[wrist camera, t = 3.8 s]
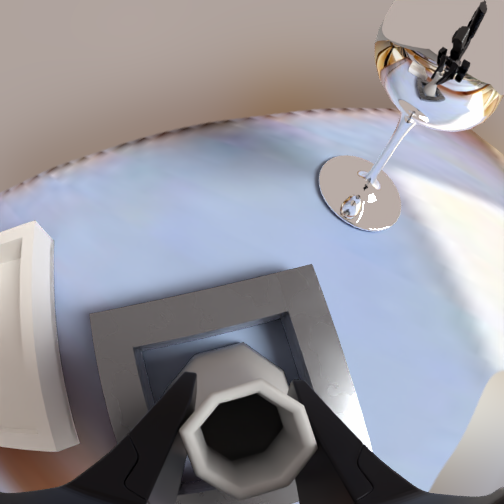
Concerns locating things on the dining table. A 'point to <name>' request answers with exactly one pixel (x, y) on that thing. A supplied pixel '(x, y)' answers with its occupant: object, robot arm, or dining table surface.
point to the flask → (245, 424)
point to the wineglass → (422, 94)
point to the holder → (215, 323)
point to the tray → (31, 346)
